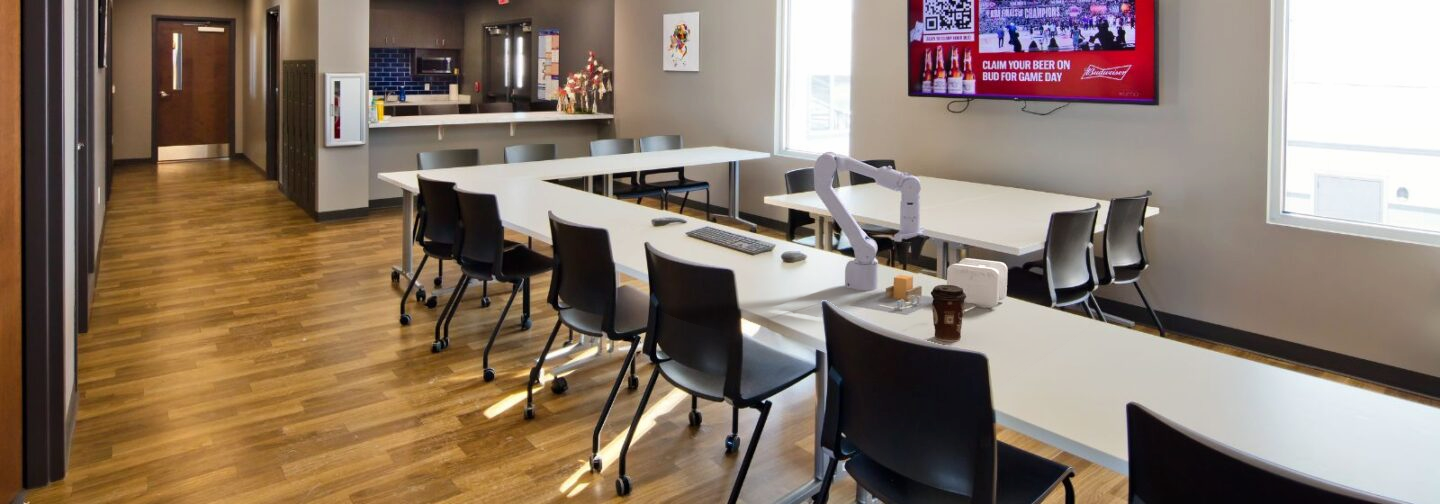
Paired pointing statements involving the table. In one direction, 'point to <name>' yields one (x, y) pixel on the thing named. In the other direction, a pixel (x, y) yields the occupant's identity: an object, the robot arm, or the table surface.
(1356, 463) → the table surface
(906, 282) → the orange rectangular block
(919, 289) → the end holder
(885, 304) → the mat
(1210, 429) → the table surface
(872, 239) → the robot arm
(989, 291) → the cable organizer
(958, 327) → the coffee cup
